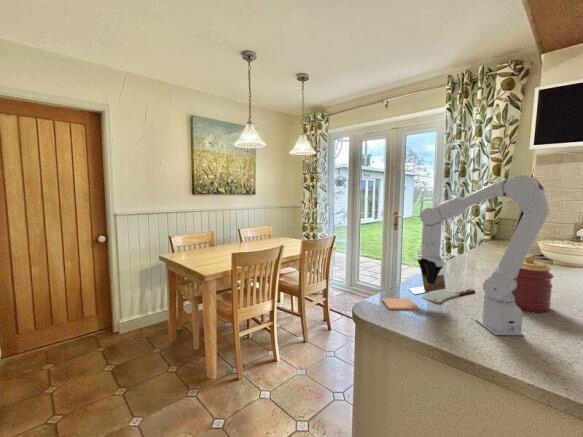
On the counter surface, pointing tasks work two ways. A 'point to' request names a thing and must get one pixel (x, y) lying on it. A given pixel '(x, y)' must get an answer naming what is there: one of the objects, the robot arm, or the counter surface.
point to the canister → (533, 286)
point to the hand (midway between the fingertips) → (428, 281)
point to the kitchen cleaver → (445, 295)
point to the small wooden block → (429, 285)
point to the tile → (400, 304)
